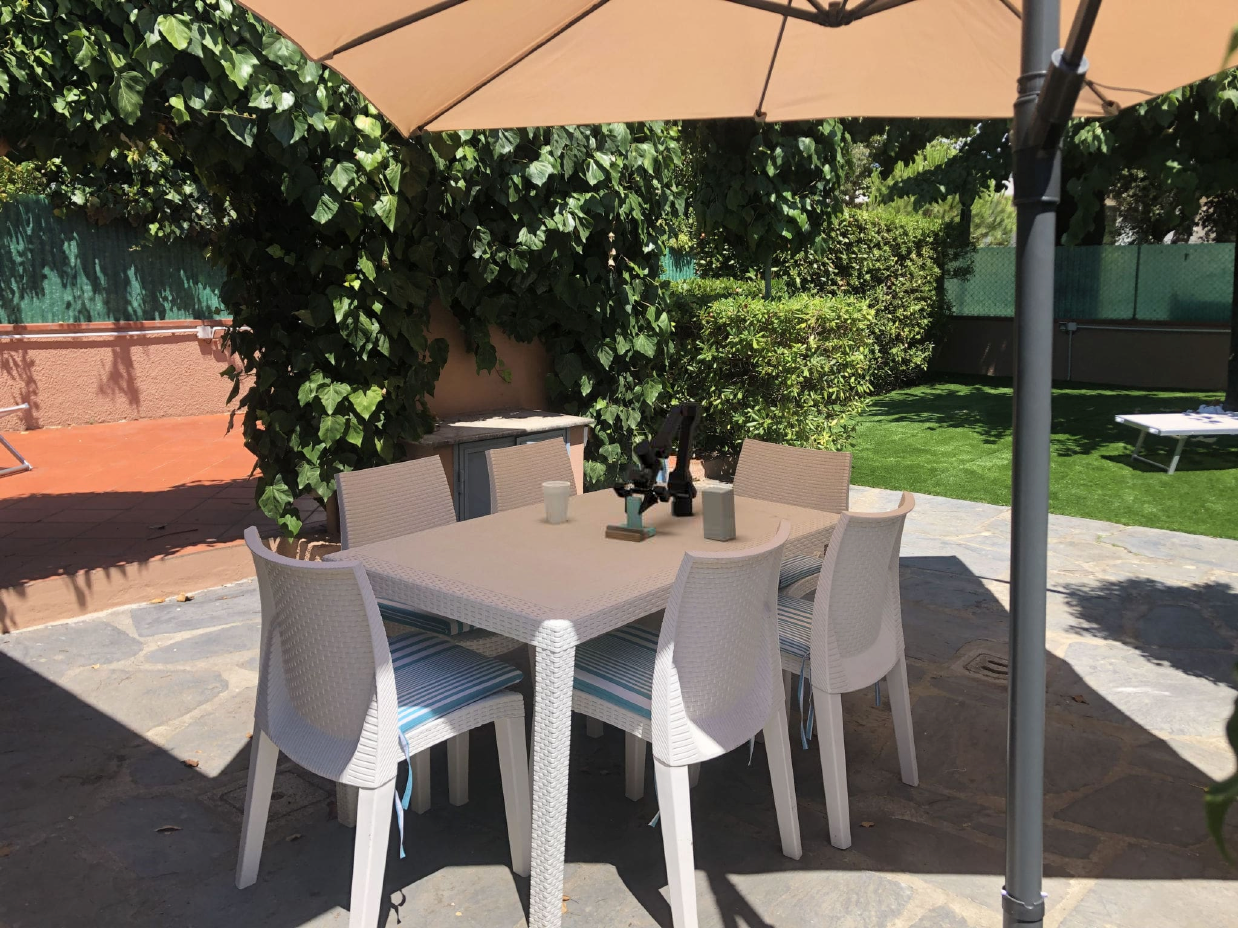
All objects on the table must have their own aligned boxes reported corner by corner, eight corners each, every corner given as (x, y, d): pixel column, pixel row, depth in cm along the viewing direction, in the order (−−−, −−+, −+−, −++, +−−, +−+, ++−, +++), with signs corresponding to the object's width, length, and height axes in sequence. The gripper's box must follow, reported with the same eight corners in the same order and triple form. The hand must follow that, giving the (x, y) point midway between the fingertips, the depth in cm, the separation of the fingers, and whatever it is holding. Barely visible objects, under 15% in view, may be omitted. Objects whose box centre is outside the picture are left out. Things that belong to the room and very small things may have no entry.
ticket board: (615, 533, 315) (615, 522, 315) (649, 537, 309) (649, 526, 308) (604, 537, 310) (604, 526, 309) (639, 542, 303) (639, 531, 303)
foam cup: (575, 519, 335) (575, 482, 333) (562, 525, 327) (562, 487, 325) (551, 517, 339) (550, 480, 337) (537, 523, 331) (537, 485, 329)
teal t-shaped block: (623, 529, 319) (622, 494, 317) (655, 533, 313) (655, 497, 311) (616, 532, 315) (616, 496, 313) (649, 536, 309) (649, 500, 307)
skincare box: (736, 538, 307) (736, 488, 305) (722, 542, 302) (722, 491, 300) (714, 534, 313) (715, 485, 310) (700, 538, 308) (700, 488, 305)
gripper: (614, 456, 317) (597, 496, 310) (666, 461, 308) (649, 502, 301) (627, 477, 325) (610, 516, 318) (677, 481, 316) (661, 522, 308)
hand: (632, 513), depth 311 cm, fingers closed on teal t-shaped block, 4 cm apart
